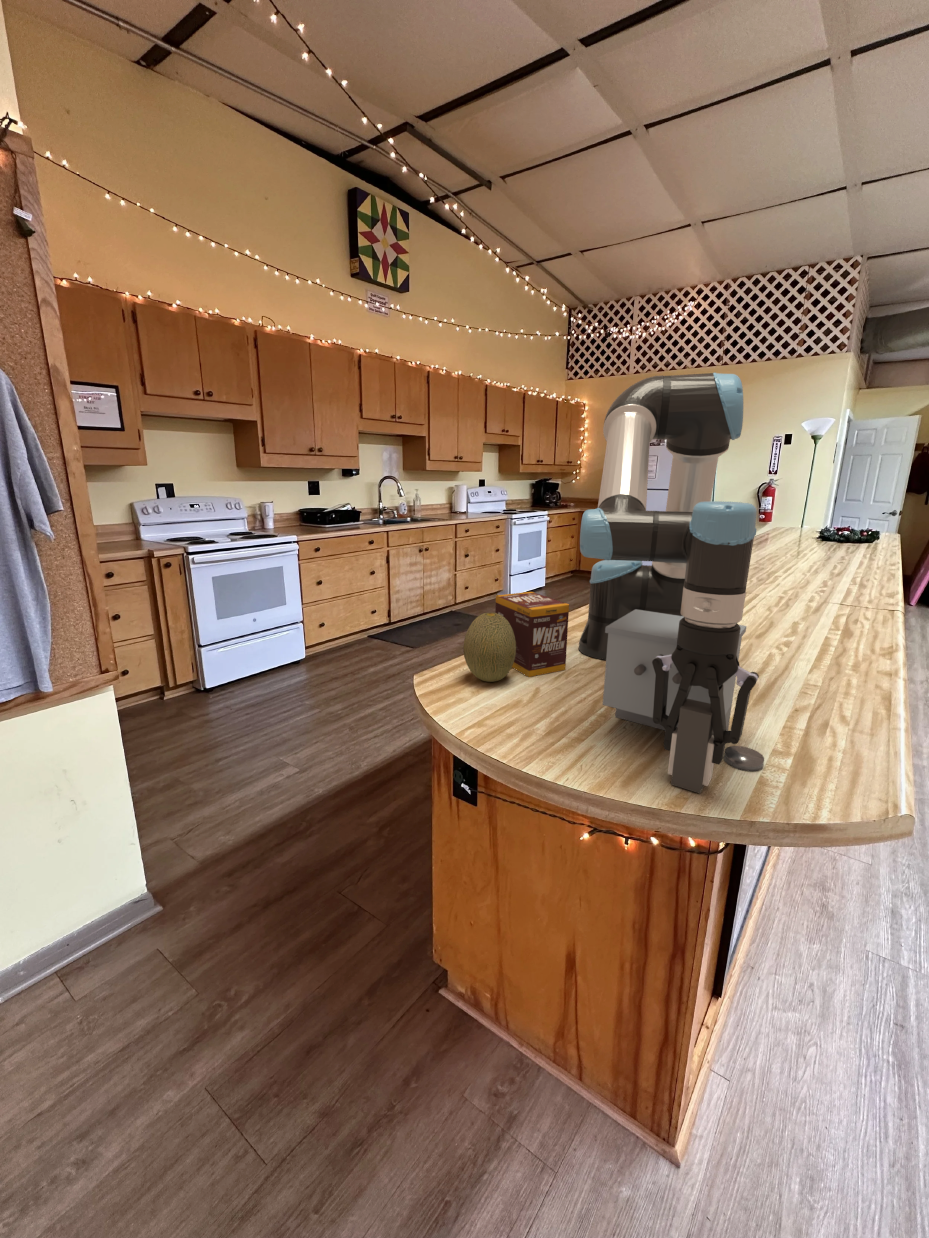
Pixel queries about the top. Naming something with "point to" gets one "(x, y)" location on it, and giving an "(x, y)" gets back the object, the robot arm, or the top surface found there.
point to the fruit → (490, 647)
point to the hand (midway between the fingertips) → (689, 775)
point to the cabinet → (648, 666)
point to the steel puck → (743, 758)
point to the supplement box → (536, 631)
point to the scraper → (692, 745)
